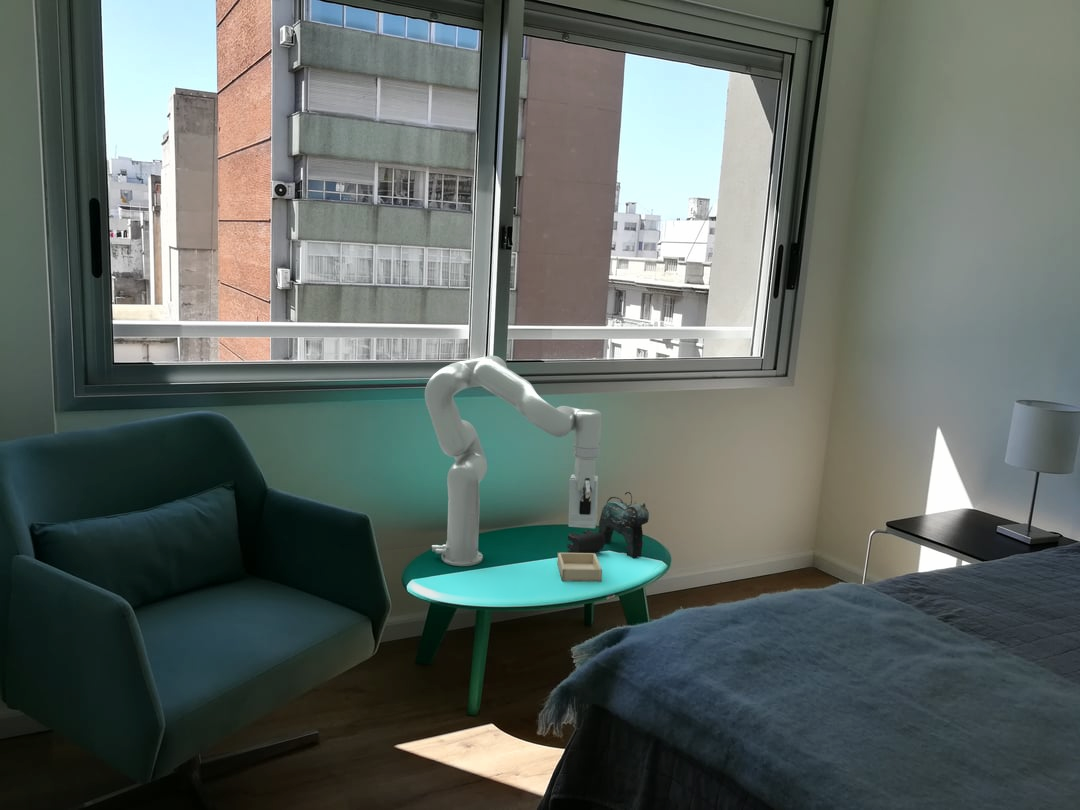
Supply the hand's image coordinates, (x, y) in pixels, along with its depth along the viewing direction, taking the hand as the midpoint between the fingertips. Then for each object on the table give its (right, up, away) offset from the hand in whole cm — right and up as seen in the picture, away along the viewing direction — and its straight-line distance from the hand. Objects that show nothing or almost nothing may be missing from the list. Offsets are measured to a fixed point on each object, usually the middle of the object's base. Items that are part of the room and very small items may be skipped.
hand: (582, 509), depth 254 cm
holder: (-1, -19, +4) cm, 20 cm away
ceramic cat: (+13, -16, +25) cm, 33 cm away
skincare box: (0, -5, +1) cm, 5 cm away
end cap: (+2, -17, +20) cm, 26 cm away
